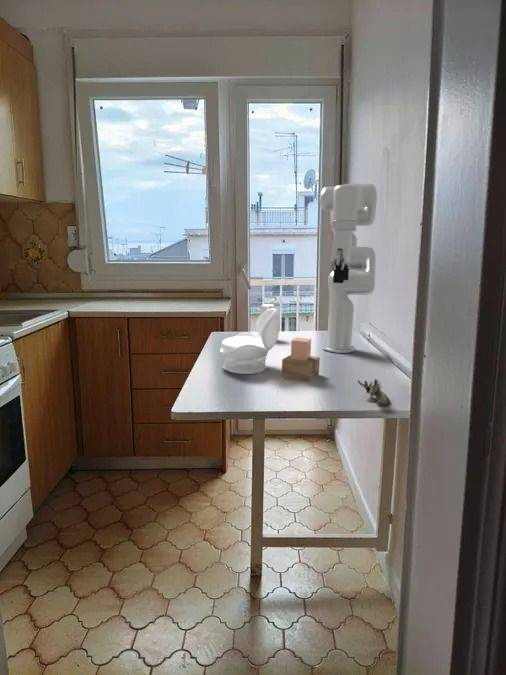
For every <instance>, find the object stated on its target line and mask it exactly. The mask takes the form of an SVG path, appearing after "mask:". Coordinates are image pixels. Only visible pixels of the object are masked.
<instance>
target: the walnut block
mask: <svg viewBox="0 0 506 675" xmlns="http://www.w3.org/2000/svg"><path fill="white" fill-rule="evenodd" d="M320 360H321V357H320V356H314V355H310V358H309V359H308V360H307V361H302V360H293V359H291V354H290V355H288V356H286V357H284V358H283V359H282V360H281V378H285V379H289V380H296V381H302V382H308V383H309V382H310V381H312V380H313V379H315V378H317V377H318V376H319V375H320V363H321V362H320Z"/></svg>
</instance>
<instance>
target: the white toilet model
mask: <svg viewBox="0 0 506 675" xmlns="http://www.w3.org/2000/svg"><path fill="white" fill-rule="evenodd" d="M271 311H272V312H271ZM270 313H271V314H270ZM266 315H267V316H266ZM264 317H265V319H264ZM261 318H262V319H261ZM263 319H264V320H263ZM265 320H267V321H266V322H264V321H265ZM262 321H263V323H265V324H263V323H262ZM261 326H262V327H261ZM267 326H268V327H267ZM280 326H281V315H280V312H279V310H278V309H277V308H276V309H275V308H271V309H268V310H266V311H264V312H263V313H262V314H261V315H260V314H259V316H258V318H257V319H256V326H255V327H256V331H257V333H258V335H259V337H258V336H256V335H255V334H253V333H250V332H247V331H243V332H240V333H238V334H236V335H235V336H230V337H226V338H224V339H223V340H222V341H221V348H220V349H219V353H220V354H221V355H222V359H223V361H224V362H223V363H224V364H223V366H222V367H223V369H224V370H226V371H228V372H229V373H230V372H231V373H234V374H242V375H250V374H251V375H252V374H258V373H262V372H263V371H265V370H266V368H267V366H266V359H267V356H268V354H269V351H271V350H272V349H273V348H274V347H275V345H276V344H277V341H278V339H279V334H280ZM269 331H270V332H269ZM260 337H261V338H260Z"/></svg>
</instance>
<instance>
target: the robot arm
mask: <svg viewBox="0 0 506 675" xmlns="http://www.w3.org/2000/svg"><path fill="white" fill-rule="evenodd" d="M377 201H378V193H377V187H376V186H375V185H374V184H373V183H368V182H367V183H344V184H339V185H332V186H324V187H323V188H322V189H321V191H320V195H319V205H320V208H321V210H322V211H325V212H330V226H331V232H332V233H333V239H332V247H331V255H330V256H331V258H330V261H331V263H332V264H334V265H333V266H334V267H333V270H332V271H331V272H330V273H329V274H328V278H327V281H328V282H327V283H328V294H329V295H328V296H329V299H328V320H327V321H328V322H327V335H326V338H327V340H326V343H325V344H323V346H322V349H323V350H324V351H327V352H330V353H334V354H335V353H336V354H337V353H339V354H348V353H349V354H350V353H353V352H354V353H355V351H356V346H354V345H352V343H353V340H352V339H353V327H354V326H353V325H354V309H355V308H354V304H353V302H352V300H351V298H350V297H349V295H350V296H351V295H352V296H353V295H354V296H369V295H371V294H373V292H374V290H375V287H376V286H375V285H376V253H375V250H374V249H373V248H372V247H369V246H357V245H358V238H357V235H356V234H355V233H354V232H357V227H359V226H361V227H363V226H364V227H365V226H371V225H372V224H374V222H375V219H376V214H377V213H376V212H377Z"/></svg>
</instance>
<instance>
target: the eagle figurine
mask: <svg viewBox="0 0 506 675" xmlns="http://www.w3.org/2000/svg"><path fill="white" fill-rule="evenodd" d="M357 382H358V384H359V385H360V386H361V387H363V388H364V389H365V391H366V393H367V394H368V395H367V398H366V400H365V401H366V402H368V401H370V400H371V399H372V398H373V397H374V396H375V397H376V405H377V406H378V407H381V408H386V407H389V406H390V404H391V401H390V399H389V397H388V395H387V394H386V393H385V392H383V391H382V388H383V387H382V383H381V381H380V380H379V379H377V378H374V383H373V381H370V383H369V384H368V382H367V380H364V383H362V382H361V381H360V380H358V379H357Z"/></svg>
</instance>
